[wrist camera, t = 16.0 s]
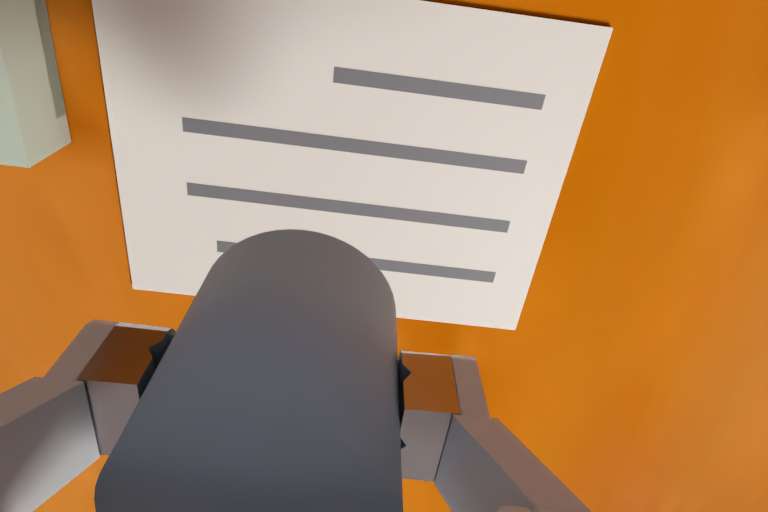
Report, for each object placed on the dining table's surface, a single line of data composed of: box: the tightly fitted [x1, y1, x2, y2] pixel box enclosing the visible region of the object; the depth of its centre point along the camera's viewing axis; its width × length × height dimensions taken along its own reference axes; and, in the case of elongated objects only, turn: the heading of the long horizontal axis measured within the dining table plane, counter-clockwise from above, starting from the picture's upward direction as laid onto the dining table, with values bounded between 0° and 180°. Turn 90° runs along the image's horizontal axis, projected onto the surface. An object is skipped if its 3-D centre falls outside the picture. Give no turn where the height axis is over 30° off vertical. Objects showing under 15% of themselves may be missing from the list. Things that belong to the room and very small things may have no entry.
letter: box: [92, 0, 613, 330], centre depth 19 cm, size 16×12×1 cm
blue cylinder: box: [94, 229, 403, 512], centre depth 10 cm, size 4×4×5 cm
